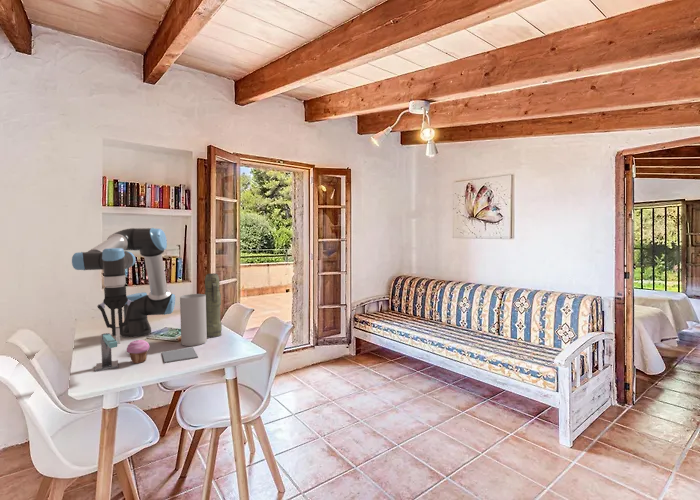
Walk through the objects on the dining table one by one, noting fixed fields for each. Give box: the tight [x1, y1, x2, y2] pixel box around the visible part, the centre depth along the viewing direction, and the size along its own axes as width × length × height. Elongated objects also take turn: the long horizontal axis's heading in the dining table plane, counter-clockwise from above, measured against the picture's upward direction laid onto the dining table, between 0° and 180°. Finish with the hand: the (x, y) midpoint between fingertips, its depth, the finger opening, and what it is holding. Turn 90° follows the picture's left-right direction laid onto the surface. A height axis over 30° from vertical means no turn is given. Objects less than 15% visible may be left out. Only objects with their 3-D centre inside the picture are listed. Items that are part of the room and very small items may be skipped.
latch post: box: [94, 338, 119, 372], centre depth 163 cm, size 8×8×12 cm
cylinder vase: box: [179, 293, 208, 347], centre depth 197 cm, size 12×12×25 cm
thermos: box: [204, 272, 223, 338], centre depth 211 cm, size 9×12×35 cm
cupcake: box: [126, 339, 150, 364], centre depth 169 cm, size 9×9×10 cm
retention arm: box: [101, 332, 118, 349], centre depth 157 cm, size 3×19×2 cm, turn 42°
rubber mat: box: [161, 346, 199, 364], centre depth 178 cm, size 16×14×1 cm
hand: (118, 343), depth 154 cm, fingers closed
